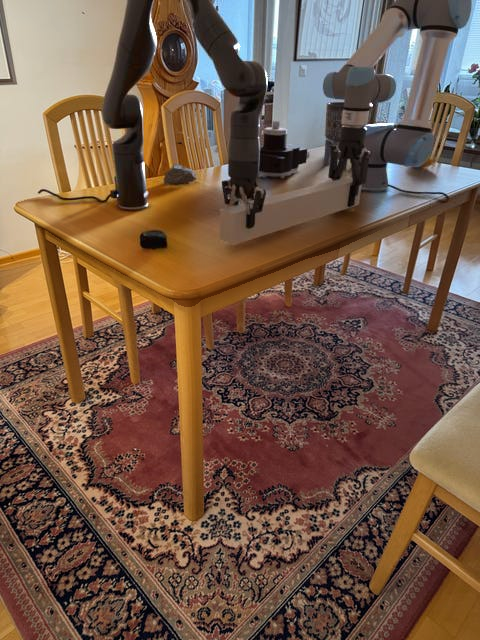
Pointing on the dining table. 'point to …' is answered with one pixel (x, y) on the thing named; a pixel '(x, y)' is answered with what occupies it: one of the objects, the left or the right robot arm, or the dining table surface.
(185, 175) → the rock
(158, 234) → the tape measure
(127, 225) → the dining table surface
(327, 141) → the planter
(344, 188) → the bar
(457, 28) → the right robot arm
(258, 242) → the dining table surface
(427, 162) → the toy
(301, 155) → the mechanical component
